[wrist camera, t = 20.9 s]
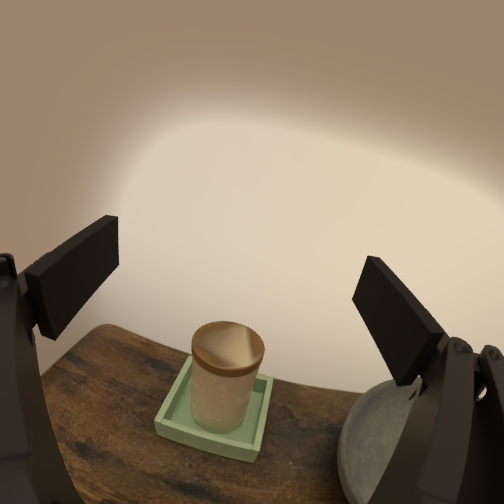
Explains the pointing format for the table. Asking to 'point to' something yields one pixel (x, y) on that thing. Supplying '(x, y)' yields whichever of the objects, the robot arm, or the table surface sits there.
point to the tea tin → (223, 374)
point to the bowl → (372, 437)
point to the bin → (226, 444)
